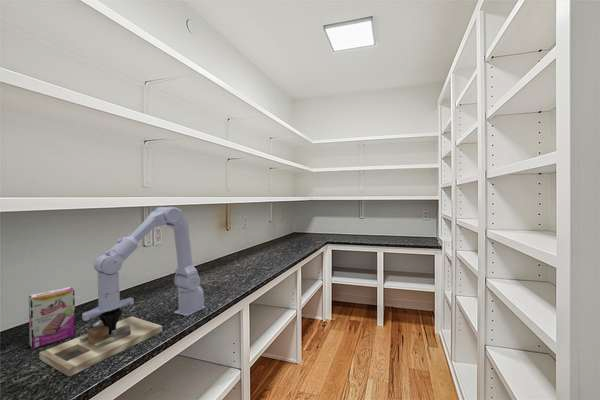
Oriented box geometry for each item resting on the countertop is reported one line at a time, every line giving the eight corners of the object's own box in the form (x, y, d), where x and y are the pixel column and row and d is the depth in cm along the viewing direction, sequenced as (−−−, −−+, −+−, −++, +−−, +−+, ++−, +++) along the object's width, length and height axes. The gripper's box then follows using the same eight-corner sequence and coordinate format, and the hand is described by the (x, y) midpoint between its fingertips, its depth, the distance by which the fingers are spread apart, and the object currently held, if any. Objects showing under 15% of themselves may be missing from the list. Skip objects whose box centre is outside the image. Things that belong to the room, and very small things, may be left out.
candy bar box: (32, 350, 87) (29, 298, 87) (29, 345, 91) (27, 295, 90) (76, 336, 96) (74, 288, 96) (73, 331, 99) (71, 285, 99)
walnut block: (102, 336, 91) (101, 324, 91) (109, 339, 89) (108, 327, 89) (88, 342, 87) (87, 329, 87) (94, 345, 85) (94, 332, 85)
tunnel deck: (131, 321, 106) (131, 308, 106) (162, 331, 97) (161, 317, 97) (39, 359, 82) (38, 342, 82) (69, 376, 74) (68, 357, 74)
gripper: (124, 283, 99) (126, 321, 99) (76, 297, 86) (78, 341, 87) (136, 286, 96) (138, 325, 96) (88, 301, 83) (90, 346, 83)
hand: (110, 333), depth 91 cm, fingers closed
